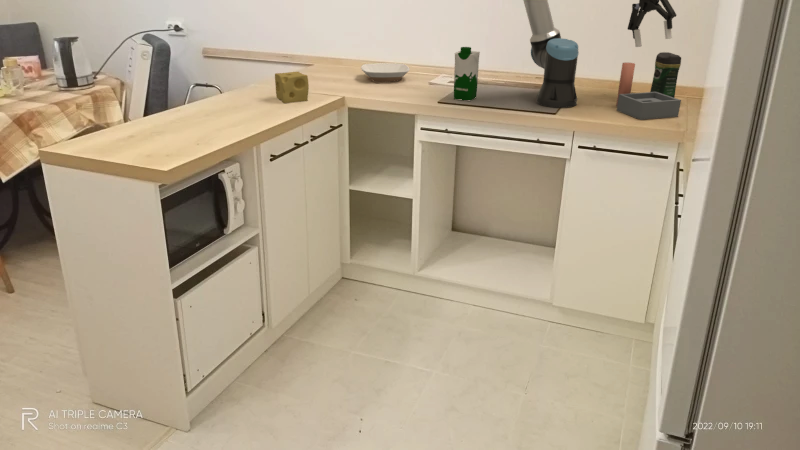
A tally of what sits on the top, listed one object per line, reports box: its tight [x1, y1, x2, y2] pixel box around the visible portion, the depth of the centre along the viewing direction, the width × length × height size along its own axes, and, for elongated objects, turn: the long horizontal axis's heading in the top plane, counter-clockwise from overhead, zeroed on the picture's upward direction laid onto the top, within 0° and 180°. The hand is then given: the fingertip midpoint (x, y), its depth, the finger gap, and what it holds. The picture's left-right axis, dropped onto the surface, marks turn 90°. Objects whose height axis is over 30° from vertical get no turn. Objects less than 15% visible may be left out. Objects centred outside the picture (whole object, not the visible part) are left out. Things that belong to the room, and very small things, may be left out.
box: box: [616, 91, 682, 121], centre depth 231 cm, size 16×14×6 cm
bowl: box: [360, 62, 410, 83], centre depth 285 cm, size 22×22×5 cm
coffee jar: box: [649, 51, 682, 98], centre depth 247 cm, size 10×8×19 cm
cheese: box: [274, 71, 310, 104], centre depth 247 cm, size 10×11×10 cm
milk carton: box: [453, 46, 481, 101], centre depth 248 cm, size 9×9×20 cm
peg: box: [615, 62, 636, 107], centre depth 239 cm, size 4×4×16 cm
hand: (653, 42), depth 244 cm, fingers open, 13 cm apart
